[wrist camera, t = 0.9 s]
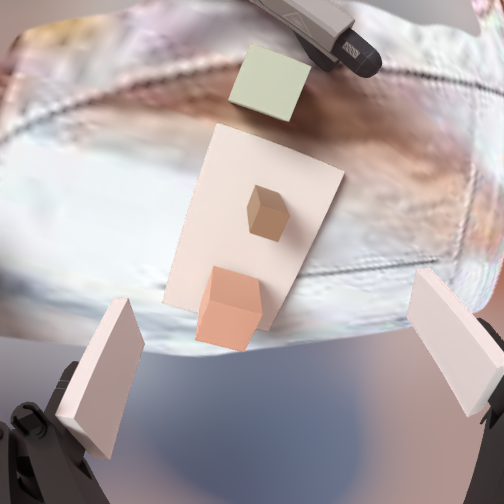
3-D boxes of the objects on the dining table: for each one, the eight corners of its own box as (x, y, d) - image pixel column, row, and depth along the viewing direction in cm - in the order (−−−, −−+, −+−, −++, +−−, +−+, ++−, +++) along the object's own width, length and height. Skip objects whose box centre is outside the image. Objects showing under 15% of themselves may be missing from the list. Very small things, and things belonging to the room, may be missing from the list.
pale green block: (229, 102, 29) (228, 99, 23) (247, 57, 26) (251, 43, 21) (278, 119, 30) (288, 121, 24) (296, 74, 27) (311, 66, 22)
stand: (163, 297, 38) (149, 344, 30) (218, 122, 29) (211, 126, 21) (267, 325, 41) (274, 374, 33) (341, 169, 32) (373, 190, 24)
